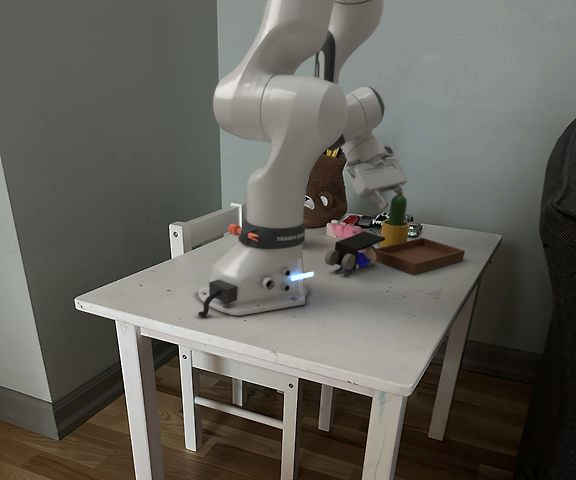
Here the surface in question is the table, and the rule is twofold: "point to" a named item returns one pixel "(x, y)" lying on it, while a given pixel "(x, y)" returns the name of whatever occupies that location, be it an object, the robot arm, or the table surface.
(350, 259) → the figurine character
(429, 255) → the tray
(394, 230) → the cup
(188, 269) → the table surface
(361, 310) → the table surface
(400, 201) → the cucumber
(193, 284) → the table surface
